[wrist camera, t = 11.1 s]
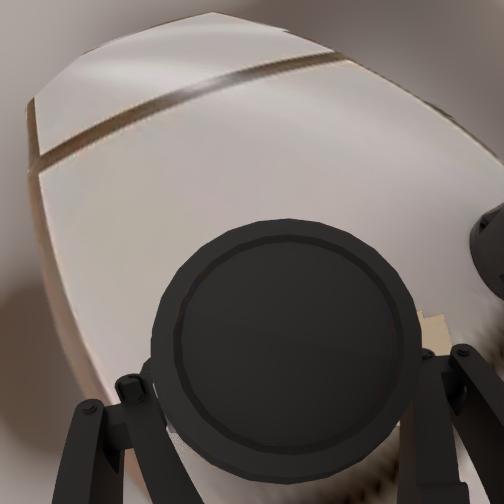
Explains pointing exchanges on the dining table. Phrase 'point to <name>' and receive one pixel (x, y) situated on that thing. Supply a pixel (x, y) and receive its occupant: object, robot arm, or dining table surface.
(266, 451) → the coffee cup
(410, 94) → the dining table surface
